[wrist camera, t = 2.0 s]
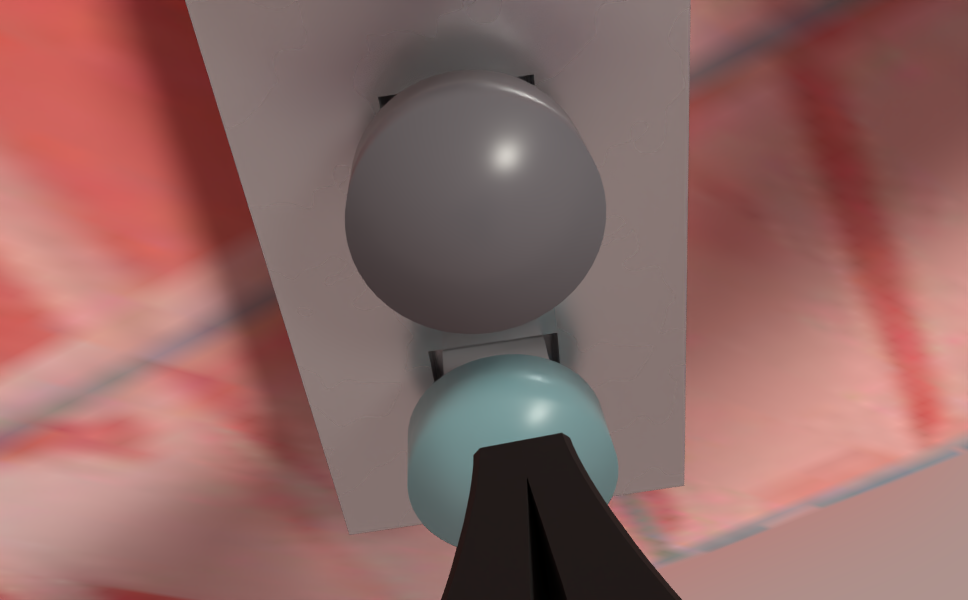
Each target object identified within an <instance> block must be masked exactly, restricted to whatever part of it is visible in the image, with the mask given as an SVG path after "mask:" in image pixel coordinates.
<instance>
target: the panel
mask: <svg viewBox="0 0 968 600" xmlns="http://www.w3.org/2000/svg"><path fill="white" fill-rule="evenodd" d="M185 2H186V5H187V8H188V12H189V15H190V18H191V21H192V25H193V28H194V31H195V34H196V38H197V41H198V44H199V47H200V51H201V54H202V57H203V60H204V64H205V67H206V70H207V73H208V77H209V80H210V83H211V86H212V90H213V93H214V96H215V99H216V103H217V106H218V109H219V112H220V116H221V119H222V122H223V125H224V129H225V132H226V135H227V138H228V142H229V145H230V148H231V151H232V155H233V158H234V161H235V164H236V168H237V171H238V174H239V177H240V181H241V184H242V187H243V190H244V194H245V197H246V200H247V203H248V207H249V210H250V213H251V216H252V220H253V223H254V226H255V229H256V233H257V236H258V239H259V242H260V246H261V249H262V252H263V255H264V259H265V262H266V265H267V268H268V272H269V275H270V278H271V281H272V284H273V288H274V291H275V294H276V297H277V301H278V304H279V307H280V310H281V314H282V317H283V320H284V323H285V327H286V330H287V333H288V336H289V340H290V343H291V346H292V349H293V353H294V356H295V359H296V362H297V366H298V369H299V372H300V375H301V379H302V382H303V385H304V388H305V392H306V395H307V398H308V401H309V405H310V408H311V411H312V414H313V418H314V421H315V424H316V427H317V431H318V434H319V437H320V440H321V444H322V447H323V450H324V453H325V457H326V460H327V463H328V466H329V470H330V473H331V476H332V479H333V483H334V486H335V489H336V492H337V496H338V499H339V502H340V505H341V509H342V512H343V515H344V518H345V522H346V525H347V528H348V531H349V535H352V534H359V533H366V532H372V531H379V530H386V529H393V528H400V527H406V526H413V525H420V524H423V523H422V522H421V521H420V520H419V518H418V517H417V515H416V514H415V512H414V510H413V508H412V505H411V502H410V499H409V495H408V488H407V483H408V427H409V422H410V418H411V415H412V413H413V410H414V408H415V406H416V404H417V403H418V401H419V399H420V398H421V397H422V395H423V394H424V393H425V392H426V390H427V389H428V388H429V387H430V386H431V385H432V384H433V383H434V382H436V381H437V380H438V379H440V378H441V377H442V376H444V368H443V351H442V350H443V349H449V348H456V347H463V346H470V345H477V344H483V343H490V342H497V341H504V340H511V339H517V338H524V337H531V336H538V335H543V337H544V341H545V345H546V349H547V353H548V357H549V360H552V361H555V362H557V363H560V364H562V365H564V366H566V367H567V368H569V369H571V370H572V371H574V372H575V373H577V374H578V375H579V376H581V377H582V378H583V379H584V380H585V381H586V382H587V383H588V384H589V386H590V387H591V388H592V390H593V391H594V392H595V394H596V396H597V398H598V400H599V402H600V405H601V408H602V411H603V414H604V418H605V421H606V424H607V427H608V430H609V433H610V436H611V440H612V443H613V446H614V449H615V452H616V455H617V460H618V480H617V484H616V488H615V491H614V493H613V496H617V495H624V494H631V493H638V492H644V491H651V490H658V489H665V488H672V487H678V486H684V459H685V382H686V305H687V228H688V151H689V74H690V0H185ZM460 70H488V71H494V72H499V73H504V74H507V75H510V76H513V77H517V78H520V79H522V80H524V81H526V82H528V83H530V84H532V85H534V86H536V87H537V88H539V89H540V90H542V91H543V92H545V93H546V94H548V95H549V96H550V97H551V98H552V99H553V100H554V101H556V102H557V103H558V104H559V105H560V106H561V107H562V109H563V110H564V111H565V112H566V113H567V114H568V116H569V117H570V118H571V120H572V122H573V123H574V125H575V126H576V128H577V130H578V132H579V133H580V135H581V137H582V139H583V141H584V143H585V145H586V147H587V149H588V151H589V153H590V155H591V156H592V158H593V160H594V162H595V165H596V167H597V169H598V172H599V174H600V176H601V180H602V184H603V187H604V191H605V199H606V224H605V230H604V236H603V240H602V243H601V246H600V249H599V252H598V254H597V257H596V259H595V261H594V263H593V265H592V267H591V268H590V270H589V272H588V273H587V275H586V276H585V278H584V279H583V280H582V282H581V283H580V284H579V285H578V286H577V288H576V289H575V290H574V291H573V292H572V293H571V294H570V295H569V296H568V297H567V298H566V299H565V300H564V301H562V302H561V303H560V304H558V305H557V306H556V307H554V308H553V309H552V310H550V311H549V312H547V313H545V314H544V315H542V316H540V317H538V318H537V319H534V320H532V321H530V322H528V323H525V324H523V325H520V326H517V327H514V328H511V329H508V330H503V331H498V332H493V333H482V334H459V333H451V332H444V331H440V330H436V329H432V328H429V327H426V326H423V325H421V324H418V323H415V322H413V321H411V320H409V319H407V318H405V317H403V316H402V315H400V314H399V313H397V312H396V311H394V310H393V309H391V308H390V307H388V306H387V305H386V304H385V303H384V302H383V301H382V300H380V299H379V298H378V297H377V296H376V295H375V294H374V292H373V291H372V290H371V289H370V288H369V287H368V286H367V284H366V283H365V281H364V280H363V278H362V277H361V275H360V274H359V272H358V270H357V268H356V266H355V264H354V262H353V260H352V257H351V254H350V250H349V247H348V244H347V238H346V232H345V207H346V199H347V193H348V187H349V181H350V175H351V169H352V163H353V159H354V156H355V152H356V148H357V146H358V144H359V141H360V139H361V137H362V135H363V133H364V131H365V130H366V128H367V126H368V125H369V123H370V121H371V120H372V119H373V118H374V116H375V115H376V114H377V113H378V112H379V110H380V109H381V108H382V107H383V106H384V105H385V104H386V103H388V102H389V101H390V100H391V99H392V98H393V97H394V96H396V95H397V94H399V93H400V92H402V91H403V90H404V89H406V88H407V87H409V86H411V85H413V84H415V83H417V82H419V81H421V80H424V79H426V78H429V77H432V76H435V75H438V74H442V73H447V72H452V71H460Z"/></svg>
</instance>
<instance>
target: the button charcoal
mask: <svg viewBox="0 0 968 600" xmlns="http://www.w3.org/2000/svg"><path fill="white" fill-rule="evenodd" d="M605 224H606V199H605V191H604V187H603V184H602V180H601V176H600V174H599V172H598V169H597V167H596V165H595V162H594V160H593V158H592V156H591V155H590V153H589V151H588V149H587V147H586V145H585V143H584V141H583V139H582V137H581V135H580V133H579V132H578V130H577V128H576V126H575V125H574V123H573V122H572V120H571V118H570V117H569V116H568V114H567V113H566V112H565V111H564V110H563V109H562V107H561V106H560V105H559V104H558V103H557V102H556V101H554V100H553V99H552V98H551V97H550V96H549V95H548V94H546V93H545V92H543V91H542V90H540V89H539V88H537V87H536V86H534V85H532V84H530V83H528V82H526V81H524V80H522V79H520V78H517V77H513V76H510V75H507V74H504V73H499V72H494V71H488V70H460V71H452V72H447V73H442V74H438V75H435V76H432V77H429V78H426V79H424V80H421V81H419V82H417V83H415V84H413V85H411V86H409V87H407V88H406V89H404V90H403V91H402V92H400V93H399V94H397V95H396V96H394V97H393V98H392V99H391V100H390V101H389V102H388V103H386V104H385V105H384V106H383V107H382V108H381V109H380V110H379V112H378V113H377V114H376V115H375V116H374V118H373V119H372V120H371V121H370V123H369V125H368V126H367V128H366V130H365V131H364V133H363V135H362V137H361V139H360V141H359V144H358V146H357V148H356V152H355V156H354V159H353V163H352V169H351V175H350V181H349V187H348V193H347V199H346V207H345V232H346V238H347V244H348V247H349V250H350V254H351V257H352V260H353V262H354V264H355V266H356V268H357V270H358V272H359V274H360V275H361V277H362V278H363V280H364V281H365V283H366V284H367V286H368V287H369V288H370V289H371V290H372V291H373V292H374V294H375V295H376V296H377V297H378V298H379V299H380V300H382V301H383V302H384V303H385V304H386V305H387V306H388V307H390V308H391V309H393V310H394V311H396V312H397V313H399V314H400V315H402V316H403V317H405V318H407V319H409V320H411V321H413V322H415V323H418V324H421V325H423V326H426V327H429V328H432V329H436V330H440V331H444V332H451V333H459V334H482V333H493V332H498V331H503V330H508V329H511V328H514V327H517V326H520V325H523V324H525V323H528V322H530V321H532V320H534V319H537V318H538V317H540V316H542V315H544V314H545V313H547V312H549V311H550V310H552V309H553V308H554V307H556V306H557V305H558V304H560V303H561V302H562V301H564V300H565V299H566V298H567V297H568V296H569V295H570V294H571V293H572V292H573V291H574V290H575V289H576V288H577V286H578V285H579V284H580V283H581V282H582V280H583V279H584V278H585V276H586V275H587V273H588V272H589V270H590V268H591V267H592V265H593V263H594V261H595V259H596V257H597V254H598V252H599V249H600V246H601V243H602V240H603V236H604V230H605Z"/></svg>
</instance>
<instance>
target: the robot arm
mask: <svg viewBox="0 0 968 600" xmlns="http://www.w3.org/2000/svg"><path fill="white" fill-rule="evenodd" d="M441 600H682V599H681V598H680V597H679V596H678V595H677V593H676V592H675V591H674V590H673V589H672V588H671V587H670V586H669V584H668V583H667V582H666V581H665V580H664V578H663V577H662V576H661V575H660V573H659V572H658V571H657V570H656V569H655V567H654V566H653V565H652V564H651V563H650V561H649V560H648V559H647V558H646V556H645V555H644V554H643V553H642V551H641V550H640V549H639V547H638V546H637V545H636V544H635V542H634V541H633V539H632V538H631V537H630V535H629V534H628V533H627V531H626V530H625V529H624V527H623V526H622V524H621V523H620V522H619V520H618V519H617V518H616V516H615V515H614V514H613V512H612V511H611V509H610V508H609V506H608V505H607V503H606V502H605V500H604V499H603V497H602V496H601V494H600V493H599V491H598V489H597V488H596V486H595V485H594V483H593V481H592V480H591V478H590V476H589V475H588V473H587V471H586V470H585V468H584V466H583V464H582V462H581V460H580V459H579V457H578V454H577V452H576V450H575V448H574V446H573V444H572V441H571V438H570V437H568V436H567V435H565V434H563V433H557V434H552V435H546V436H541V437H536V438H530V439H525V440H520V441H514V442H509V443H503V444H498V445H493V446H487V447H482V448H479V449H478V450H477V452H476V453H475V454H474V455H473V471H472V480H471V487H470V493H469V498H468V504H467V508H466V513H465V518H464V523H463V527H462V530H461V534H460V538H459V542H458V546H457V549H456V553H455V557H454V561H453V564H452V568H451V571H450V575H449V578H448V581H447V584H446V587H445V590H444V593H443V596H442V599H441Z"/></svg>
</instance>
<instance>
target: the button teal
mask: <svg viewBox="0 0 968 600" xmlns="http://www.w3.org/2000/svg"><path fill="white" fill-rule="evenodd" d="M442 351H443V368H444V376H442V377H441V378H440V379H438V380H437V381H436V382H434V383H433V384H432V385H431V386H430V387H429V388H428V389H427V390H426V392H425V393H424V394H423V395H422V397H421V398H420V399H419V401H418V403H417V404H416V406H415V408H414V410H413V413H412V415H411V418H410V422H409V427H408V483H407V488H408V495H409V499H410V502H411V505H412V508H413V510H414V512H415V514H416V515H417V517H418V518H419V520H420V521H421V522H422V523H423V525H424V526H425V527H426V528H427V529H428V530H429V531H431V532H432V533H433V534H434V535H436V536H437V537H439V538H440V539H442V540H444V541H445V542H447V543H449V544H451V545H453V546H456V547H457V546H458V542H459V538H460V534H461V530H462V527H463V523H464V518H465V513H466V508H467V504H468V498H469V493H470V487H471V480H472V471H473V455H474V454H475V453H476V452H477V450H478V449H479V448H482V447H487V446H493V445H498V444H503V443H509V442H514V441H520V440H525V439H530V438H536V437H541V436H546V435H552V434H557V433H563V434H565V435H567V436H568V437H570V438H571V441H572V444H573V446H574V448H575V450H576V452H577V454H578V457H579V459H580V460H581V462H582V464H583V466H584V468H585V470H586V471H587V473H588V475H589V476H590V478H591V480H592V481H593V483H594V485H595V486H596V488H597V489H598V491H599V493H600V494H601V496H602V497H603V499H604V500H605V502H606V503H607V505H608V503H609V502H610V500H611V498H612V496H613V493H614V491H615V488H616V484H617V480H618V460H617V455H616V452H615V449H614V446H613V443H612V440H611V436H610V433H609V430H608V427H607V424H606V421H605V418H604V414H603V411H602V408H601V405H600V402H599V400H598V398H597V396H596V394H595V392H594V391H593V390H592V388H591V387H590V386H589V384H588V383H587V382H586V381H585V380H584V379H583V378H582V377H581V376H579V375H578V374H577V373H575V372H574V371H572V370H571V369H569V368H567V367H566V366H564V365H562V364H560V363H557V362H555V361H552V360H549V357H548V353H547V349H546V345H545V341H544V337H543V335H538V336H531V337H524V338H517V339H511V340H504V341H497V342H490V343H483V344H477V345H470V346H463V347H456V348H449V349H443V350H442Z"/></svg>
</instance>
